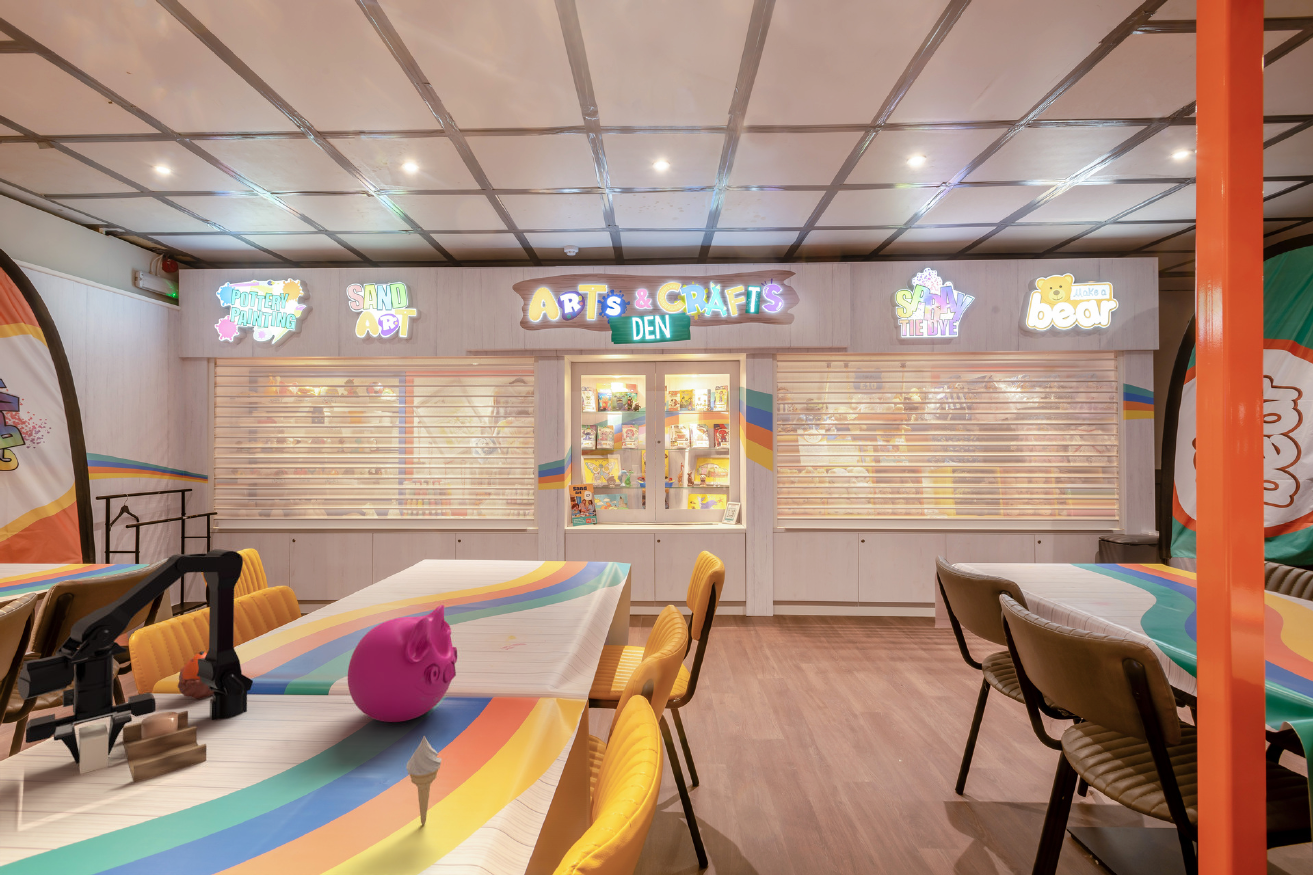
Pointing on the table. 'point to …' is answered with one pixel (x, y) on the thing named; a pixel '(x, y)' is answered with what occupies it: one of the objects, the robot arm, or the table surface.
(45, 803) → the table surface
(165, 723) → the peach rounded capsule
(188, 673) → the orange rounded lump
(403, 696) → the figurine
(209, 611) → the robot arm
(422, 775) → the ice cream cone
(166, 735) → the rack
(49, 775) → the table surface
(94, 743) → the cream rectangular block
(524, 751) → the table surface
